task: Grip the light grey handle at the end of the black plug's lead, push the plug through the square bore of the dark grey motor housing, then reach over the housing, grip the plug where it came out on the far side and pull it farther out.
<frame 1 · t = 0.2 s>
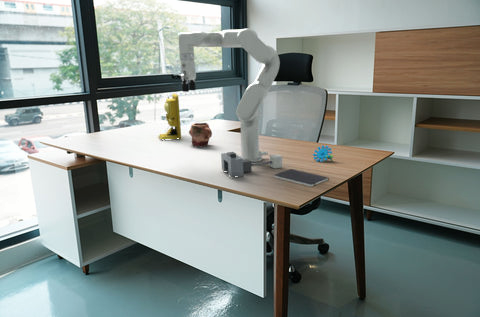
hand: (189, 90, 208), 37 cm above the table, tool pointing down, fingers open, 9 cm apart
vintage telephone: (169, 137, 276), on the table
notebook: (300, 179, 176), on the table
decorative planter: (202, 146, 247), on the table
motor housing: (232, 173, 186), on the table
plug: (259, 163, 190), point 3 cm above the table, slide at 0.0 cm
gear: (323, 161, 203), on the table
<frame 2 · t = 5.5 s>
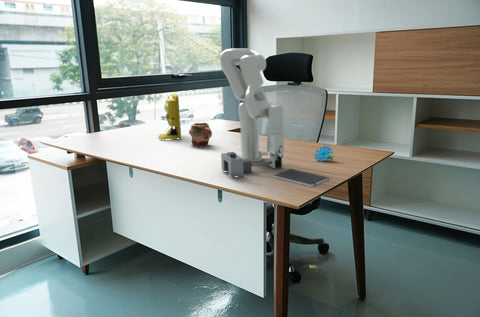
hand: (276, 166, 194), 1 cm above the table, tool pointing down, fingers closed on plug, 4 cm apart
plug: (259, 163, 190), point 3 cm above the table, slide at 0.0 cm, touching gripper
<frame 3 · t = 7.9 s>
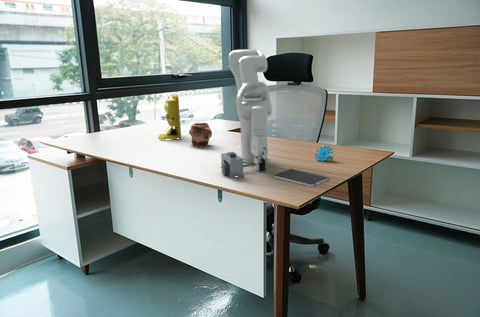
hand: (260, 168, 191), 1 cm above the table, tool pointing down, fingers closed on plug, 4 cm apart
plug: (243, 165, 187), point 3 cm above the table, slide at 8.6 cm, touching gripper
everything else where it was.
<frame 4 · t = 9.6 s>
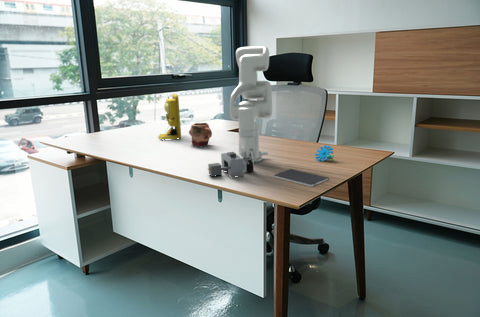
hand: (247, 170, 189), 1 cm above the table, tool pointing down, fingers closed on plug, 4 cm apart
plug: (230, 167, 185), point 3 cm above the table, slide at 15.0 cm, touching gripper
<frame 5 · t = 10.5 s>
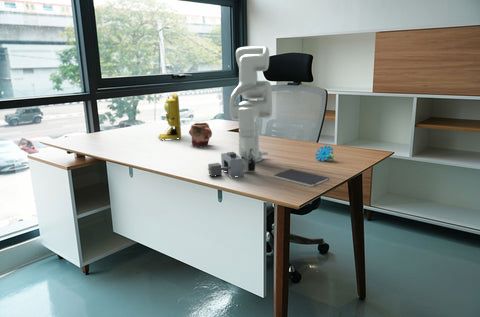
hand: (247, 168, 189), 2 cm above the table, tool pointing down, fingers open, 9 cm apart
plug: (230, 167, 185), point 3 cm above the table, slide at 15.0 cm
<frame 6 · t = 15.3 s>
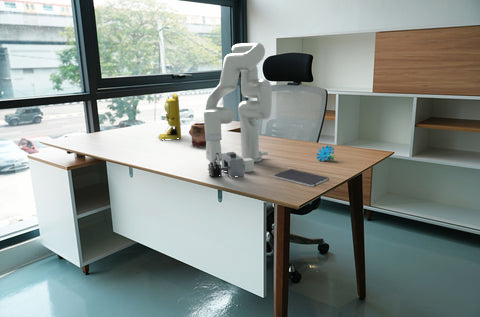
hand: (215, 174, 183), 1 cm above the table, tool pointing down, fingers closed on plug, 4 cm apart
plug: (230, 167, 185), point 3 cm above the table, slide at 15.0 cm, touching gripper
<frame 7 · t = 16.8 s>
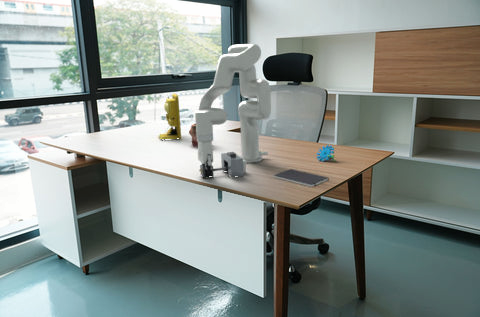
hand: (207, 175, 182), 1 cm above the table, tool pointing down, fingers closed on plug, 4 cm apart
plug: (222, 168, 184), point 3 cm above the table, slide at 19.0 cm, touching gripper
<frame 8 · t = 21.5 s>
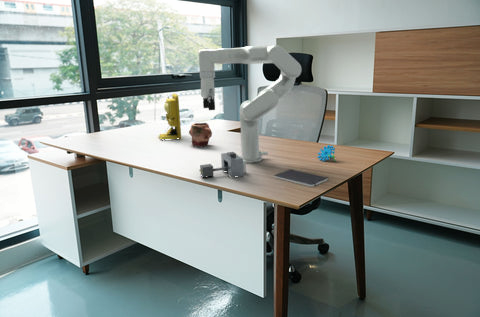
hand: (209, 109, 200), 28 cm above the table, tool pointing down, fingers open, 9 cm apart
plug: (222, 168, 184), point 3 cm above the table, slide at 19.0 cm
at the end: plug slide at 19.0 cm; the gripper is holding nothing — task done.
